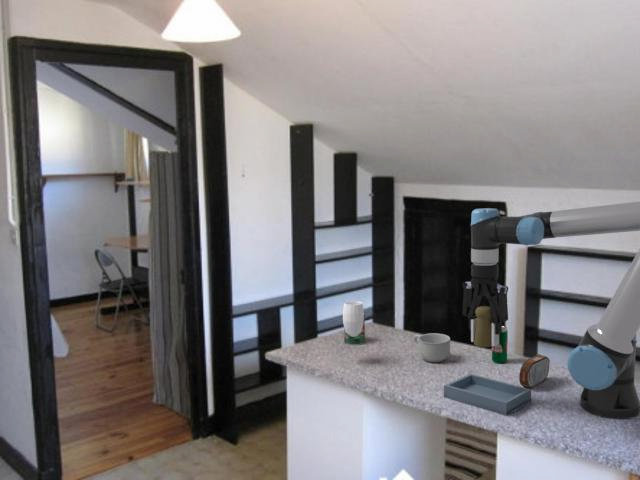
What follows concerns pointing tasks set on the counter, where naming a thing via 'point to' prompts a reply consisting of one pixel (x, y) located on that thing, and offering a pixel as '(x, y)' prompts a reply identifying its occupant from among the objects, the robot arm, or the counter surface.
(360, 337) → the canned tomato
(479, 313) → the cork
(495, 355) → the soda can
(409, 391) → the counter surface
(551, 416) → the counter surface
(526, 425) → the counter surface
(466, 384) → the tray
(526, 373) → the tin
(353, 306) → the cup
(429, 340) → the teacup
